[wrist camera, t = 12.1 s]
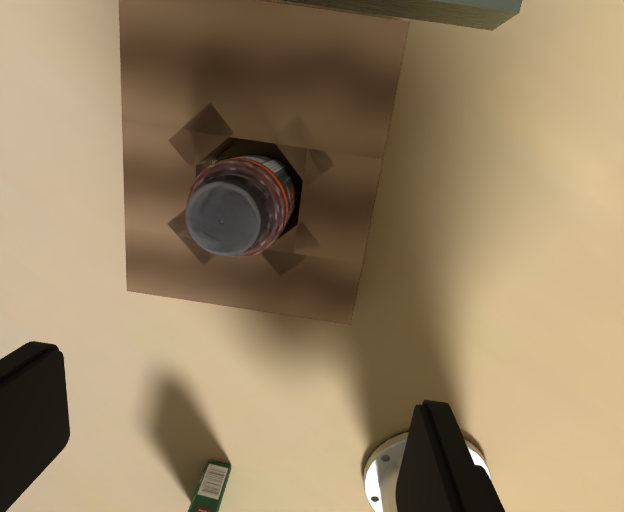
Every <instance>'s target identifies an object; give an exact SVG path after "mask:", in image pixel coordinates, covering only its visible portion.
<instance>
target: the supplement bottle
mask: <svg viewBox="0 0 624 512" xmlns="http://www.w3.org/2000/svg"><path fill="white" fill-rule="evenodd" d="M296 201H297V185H296V181H295V179H294V176H293V174H292V172H291V171H290V170H289V168H288V167H287V166H286V165H285V164H284V163H283V162H281V161H280V160H278V159H277V158H275V157H273V156H270V155H265V154H251V155H246V156H240V157H235V158H230V159H225V160H221V161H218V162H215V163H213V164H211V165H209V166H208V167H206V168H205V169H204V170H202V171H201V172H200V173H199V175H198V176H197V177H196V178H195V180H194V181H193V183H192V185H191V187H190V189H189V193H188V198H187V208H186V211H185V219H186V226H187V229H188V231H189V233H190V235H191V237H192V238H193V240H194V241H195V242H196V243H197V244H198V245H199V246H200V247H201V248H203V249H204V250H206V251H207V252H209V253H211V254H215V255H219V256H230V257H249V256H253V255H256V254H259V253H261V252H263V251H264V250H266V249H267V248H269V247H270V246H271V245H272V244H273V243H274V242H275V241H276V240H277V239H278V237H279V236H280V234H281V233H282V231H283V229H284V227H285V225H286V223H287V221H288V220H289V218H290V216H291V214H292V212H293V210H294V208H295V205H296Z"/></svg>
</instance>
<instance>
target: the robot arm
mask: <svg viewBox="0 0 624 512" xmlns="http://www.w3.org/2000/svg"><path fill="white" fill-rule="evenodd" d="M69 437H70V427H69V415H68V404H67V392H66V380H65V369H64V357H63V354H62V352H60V351H59V348H58V347H57V346H56V345H54V344H48V343H41V342H35V341H33V342H29V343H26V344H25V345H23V346H21V347H20V348H18V349H17V350H15V351H13V352H12V353H10V354H8V355H7V356H5V357H4V358H2V359H0V512H6V511H7V510H8V508H9V507H10V506H11V505H12V504H13V503H14V502H15V501H16V500H17V499H18V498H19V497H20V495H21V494H22V493H23V492H24V491H25V490H26V489H27V488H28V487H29V486H30V485H31V483H32V482H33V481H34V480H35V479H36V478H37V477H38V476H39V475H40V474H41V473H42V472H43V470H44V469H45V468H46V467H47V466H48V465H49V464H50V463H51V462H52V461H53V460H54V459H55V457H56V456H57V455H58V454H59V453H60V452H61V451H62V450H63V449H64V447H65V446H66V444H67V442H68V440H69ZM363 479H364V490H365V494H366V497H367V499H368V501H369V503H370V505H371V506H372V507H373V509H374V510H375V511H376V512H505V510H504V508H503V506H502V504H501V502H500V499H499V497H498V495H497V493H496V491H495V488H494V486H493V484H492V482H491V475H490V471H489V468H488V466H487V463H486V461H485V459H484V457H483V456H482V454H481V453H480V452H479V450H478V449H477V448H476V447H475V446H474V445H473V444H471V443H470V442H469V441H467V440H465V439H464V438H463V435H462V433H461V431H460V428H459V426H458V424H457V422H456V419H455V417H454V415H453V412H452V410H451V408H450V406H449V404H447V403H443V402H437V401H430V400H424V402H423V404H422V405H416V406H415V409H414V413H413V417H412V421H411V425H410V429H409V432H407V433H403V434H400V435H397V436H395V437H393V438H391V439H389V440H387V441H386V442H384V443H383V444H381V445H380V446H379V447H378V448H377V449H376V450H375V451H374V452H373V453H372V455H371V456H370V458H369V459H368V461H367V464H366V466H365V469H364V477H363Z"/></svg>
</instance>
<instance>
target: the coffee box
mask: <svg viewBox="0 0 624 512" xmlns="http://www.w3.org/2000/svg"><path fill="white" fill-rule="evenodd" d="M230 471H231V466H230V465H227V464H223V463H219V462H216V461H213V460H208V462H207V465H206V467H205V469H204V472H203V475H202V477H201V480H200V482H199V485H198V487H197V490H196V492H195V495H194V497H193V500H192V502H191V505H190V507H189V510H188V512H218V511H219V507H220V504H221V501H222V498H223V494H224V491H225V488H226V484H227V481H228V477H229V474H230Z"/></svg>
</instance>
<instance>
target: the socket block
mask: <svg viewBox="0 0 624 512" xmlns="http://www.w3.org/2000/svg"><path fill="white" fill-rule="evenodd" d="M119 22H120V58H121V95H122V131H123V168H124V204H125V241H126V278H127V291H131V292H137V293H144V294H151V295H157V296H164V297H171V298H177V299H184V300H190V301H197V302H204V303H210V304H217V305H224V306H230V307H237V308H244V309H250V310H257V311H264V312H270V313H277V314H283V315H290V316H297V317H303V318H310V319H317V320H323V321H330V322H337V323H343V324H350V325H351V320H352V315H353V310H354V305H355V300H356V294H357V289H358V284H359V279H360V274H361V269H362V264H363V259H364V253H365V248H366V243H367V238H368V233H369V228H370V223H371V218H372V212H373V207H374V202H375V197H376V192H377V187H378V182H379V177H380V171H381V166H382V161H383V156H384V151H385V146H386V141H387V136H388V130H389V125H390V120H391V115H392V110H393V105H394V100H395V95H396V89H397V84H398V79H399V74H400V69H401V64H402V59H403V54H404V48H405V43H406V38H407V33H408V28H409V23H410V22H408V21H401V20H394V19H388V18H381V17H374V16H367V15H360V14H353V13H346V12H339V11H332V10H325V9H318V8H311V7H304V6H297V5H290V4H283V3H276V2H269V1H262V0H119ZM239 138H240V139H247V140H254V141H260V142H267V143H274V144H276V145H277V147H278V148H279V149H280V151H281V152H282V153H283V155H284V156H285V157H286V159H287V160H288V161H289V163H290V164H291V165H292V167H293V168H294V169H295V171H296V172H297V173H298V175H299V176H300V177H301V179H302V180H303V185H302V193H301V201H300V208H299V216H298V218H296V219H295V220H294V221H292V222H291V223H290V224H288V225H287V226H286V227H284V229H283V231H282V233H281V234H280V236H279V237H278V239H277V240H276V241H275V242H274V243H273V244H272V245H271V246H270V247H269V248H267V249H266V250H264V251H263V252H261V253H259V254H256V255H253V256H249V257H230V256H219V255H215V254H211V253H209V252H207V251H206V250H204V249H203V248H201V247H200V246H199V245H198V244H197V243H196V242H195V241H194V240H193V238H192V237H191V235H190V233H189V231H188V229H187V226H186V219H185V211H186V208H187V198H188V193H189V189H190V187H191V185H192V183H193V181H194V180H195V178H196V177H197V176H198V175H199V173H200V172H201V171H202V170H204V169H205V168H206V167H208V166H209V165H211V164H212V161H213V160H214V159H215V158H217V157H218V156H219V155H220V154H221V153H222V152H224V151H225V150H226V149H227V148H228V147H230V146H231V145H232V144H233V143H234V142H236V141H237V140H238V139H239Z"/></svg>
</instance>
